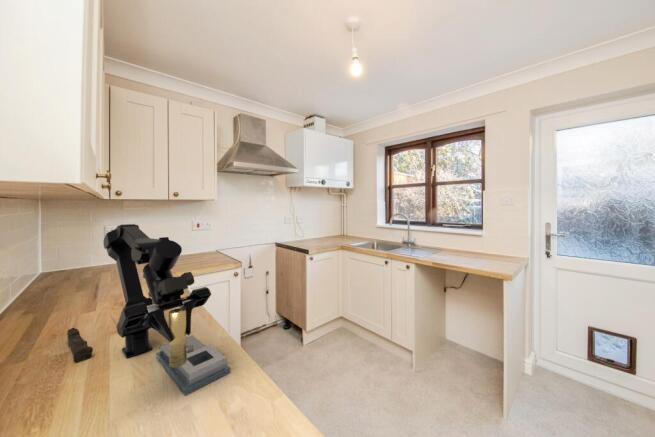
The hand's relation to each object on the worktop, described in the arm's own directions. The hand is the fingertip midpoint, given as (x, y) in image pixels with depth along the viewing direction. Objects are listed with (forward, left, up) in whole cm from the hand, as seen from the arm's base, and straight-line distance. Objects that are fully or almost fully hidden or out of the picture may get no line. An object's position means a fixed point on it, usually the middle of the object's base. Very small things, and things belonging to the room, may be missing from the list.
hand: (180, 337), depth 59 cm
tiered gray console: (-9, +6, -13) cm, 17 cm away
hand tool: (-43, -15, -14) cm, 48 cm away
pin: (-1, 0, -7) cm, 7 cm away
